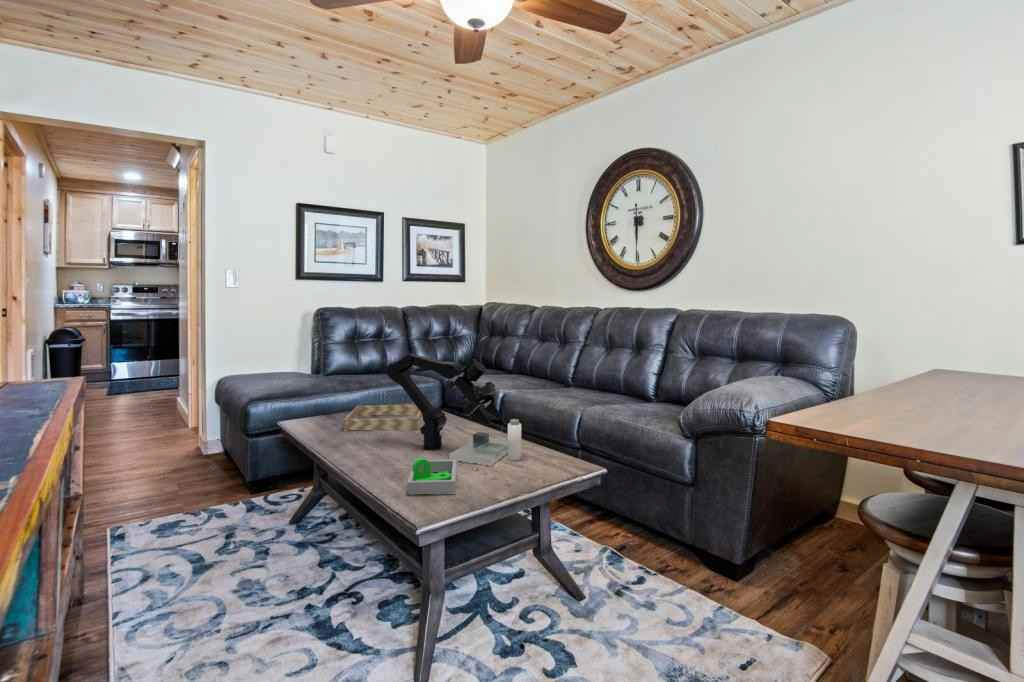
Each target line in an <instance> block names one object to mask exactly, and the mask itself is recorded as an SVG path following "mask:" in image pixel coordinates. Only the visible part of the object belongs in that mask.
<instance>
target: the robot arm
mask: <svg viewBox="0 0 1024 682" xmlns="http://www.w3.org/2000/svg"><path fill="white" fill-rule="evenodd" d="M413 366H415V367H418V368H422V369H425V370H429V371H431V372H435V373H437V374H438V375H439V376H441V377H443V378H445V379H446V380H451V379H454V380H451V381H450V386H449V388H450V389H454V388H456V389H458V391H459V392H460V393H461V395H463V396H462V399H463V400H467V401H468V402H469V403H468V404H467V405H466V406H465V407H464V408H463V410H462V411H463V414H464V415H465V416H466V417H469V418H473V419H475V420H477V421H480V422H482V423H484V424H486V425H490V424H492V423H491V421H490V419H489V417H488V416H487V415H486V413H485V412H484V411H486V412H487V413H489V414H490V415H492V416H493V417H494V418H496V419H497V420H500V419H501V417H502V416H501V414H500V411H499V409H498V407H497V397H498V395H497V394H496V393H495V391H496V388H495V387H496V384H494V383H493V382H492V381H491V380H490V381H487V382H486V383H484V384H485V385H484V386H482V387H480V385H475V384H474V382H475V383H476V382H477V381H478V380H479V379H481V378H482V376H483V375H485V374H486V372H487V368H486V366H485V364H483V363H481V362H480V361H478V360H477V359H476V358H473V359H471V360H470V362H469V363H468V364H467V365H466V366H465V365H461V363H459V362H456V361H441V360H437V359H432V358H430V357H426V356H422V355H419V354H416V353H409V354H406V355H405V356H403V358H401V359H399V360H397V361H396V362H393V363H390V364H388V365H387V367H386V371H385V372H386V375H387V376H388V377H389V379H391V381H392V382H394V383H396V384H398V385H400V387H401V388H402V389H403V391H405V393H406V394H407V395H408V397H409V398H410V400H411V401H412V403H414V404H413V405H416V406H417V407H418V409H419V410H420V411H421V413H422V417H423V418H422V422H423V423H424V424H423V425H422V426H421V428H420V427H419V431H420V434H421V435H423V450H424V451H425V450H428V449H431V450H440V449H441V448H442V447H443V446H442V445H443V440H442V437H443V435H442V434H441V431H443V429H444V427H445V426H446V425H447V416H446V413H445V412H444V411H443V410H442V408H441V407H440V406H435V407H434V405H432V404H431V403H430V401H429V400H428V399H427V397H426V396H425V395H424V394H423V392H422V391H421V390H420V388H419V387H418V385H417V384H416V383H415V381H414V380H413V379H412V377H411V372H410V369H411V368H412V367H413ZM462 374H463V375H462ZM461 375H462V376H461Z"/></svg>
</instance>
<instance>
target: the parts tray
mask: <svg viewBox="0 0 1024 682" xmlns="http://www.w3.org/2000/svg"><path fill="white" fill-rule="evenodd" d="M426 460H427V459H426ZM415 461H416V460H413V463H414V462H415ZM427 461H428V462H429V463H430V468H431V474H434V473H433V472H445V471H447V472H448V473H451V480H431V481H414V471H413V470H412V468H411V469H410V473H409V475H408V479H407V490H406V491H407V495H408V494H435V495H447V494H446V493H455V494H456V488H455V487H456V485H457V484H456V483H457V473H456V472H457V470H458V469H457V464H458V463H457V462H458V461H457V460H450V459H437V460H436V459H433V460H430V459H429V460H427ZM423 469H424V465H421V466H419V468H418V471H422V470H423Z"/></svg>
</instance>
